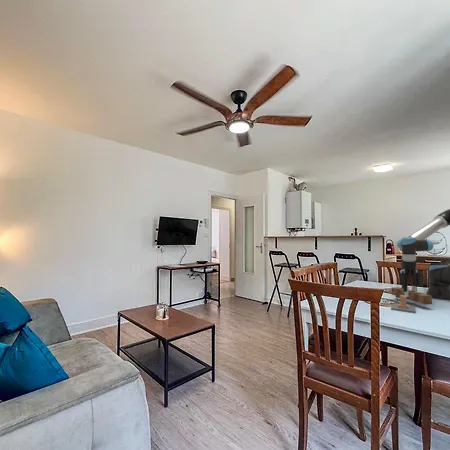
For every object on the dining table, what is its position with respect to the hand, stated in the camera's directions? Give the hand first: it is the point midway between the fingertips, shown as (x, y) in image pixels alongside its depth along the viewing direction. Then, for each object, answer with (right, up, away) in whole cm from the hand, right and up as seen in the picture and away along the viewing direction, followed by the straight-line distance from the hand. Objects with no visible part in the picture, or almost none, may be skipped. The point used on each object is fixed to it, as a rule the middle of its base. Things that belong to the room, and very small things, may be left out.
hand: (410, 296), depth 175 cm
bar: (0, -2, 0) cm, 2 cm away
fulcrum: (-13, -5, -12) cm, 18 cm away
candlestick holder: (+7, -6, +18) cm, 20 cm away
